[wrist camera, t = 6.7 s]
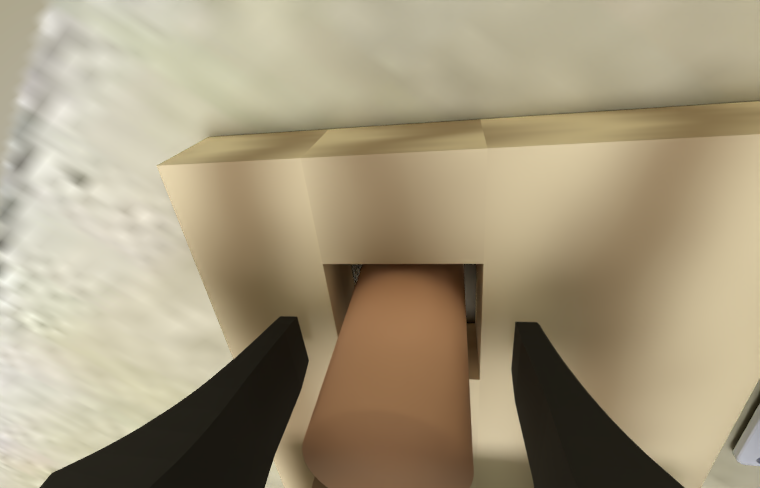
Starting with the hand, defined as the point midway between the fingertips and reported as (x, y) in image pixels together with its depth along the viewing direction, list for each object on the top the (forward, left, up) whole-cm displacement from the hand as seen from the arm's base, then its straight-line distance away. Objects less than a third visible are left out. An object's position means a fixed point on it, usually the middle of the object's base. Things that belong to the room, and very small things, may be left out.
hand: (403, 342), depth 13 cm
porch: (-2, +3, -4) cm, 5 cm away
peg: (0, 0, -4) cm, 4 cm away
